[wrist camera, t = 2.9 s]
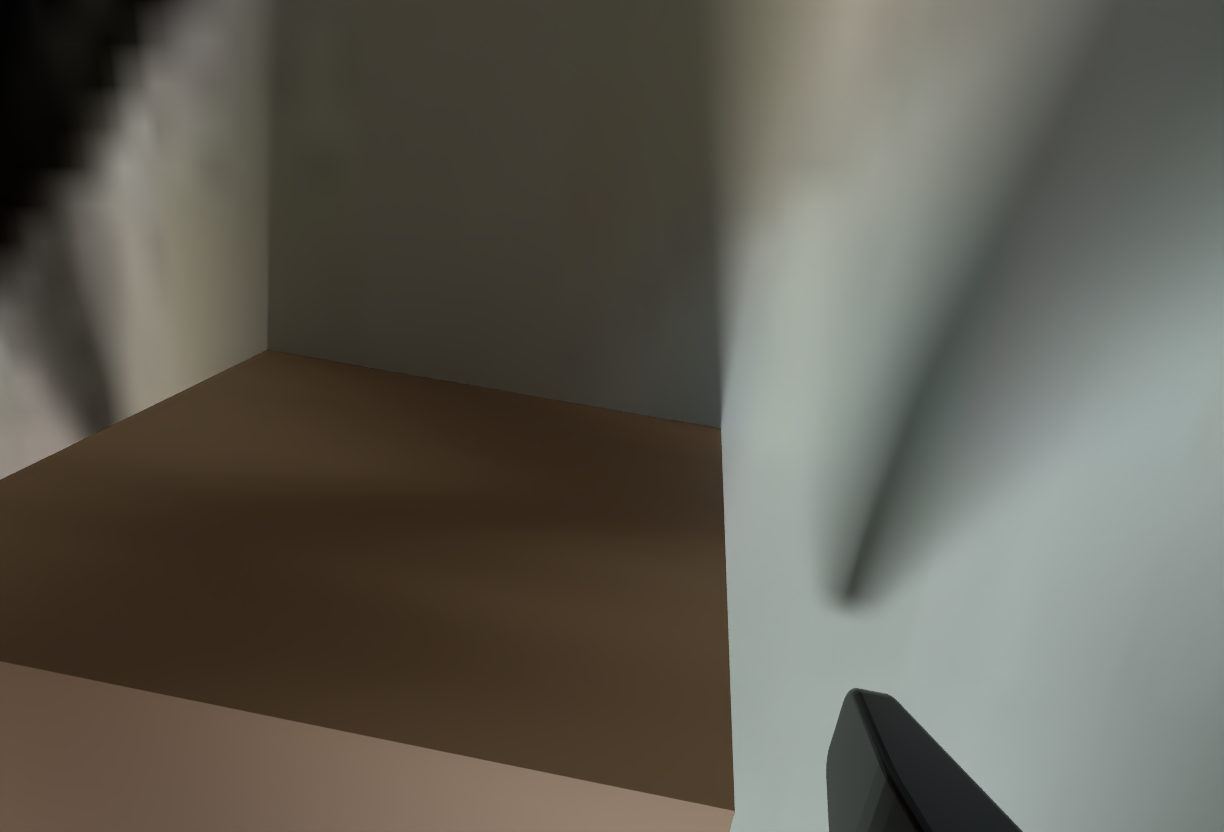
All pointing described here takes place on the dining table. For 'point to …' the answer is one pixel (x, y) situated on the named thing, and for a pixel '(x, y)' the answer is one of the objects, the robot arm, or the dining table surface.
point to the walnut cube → (366, 615)
